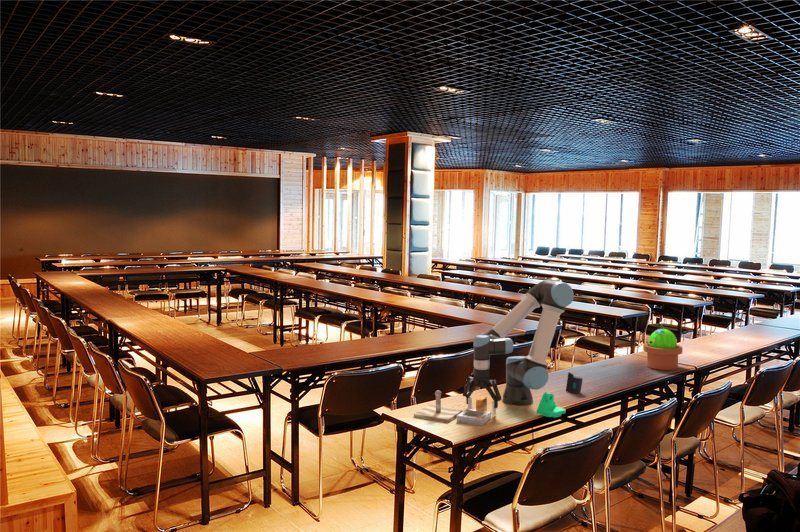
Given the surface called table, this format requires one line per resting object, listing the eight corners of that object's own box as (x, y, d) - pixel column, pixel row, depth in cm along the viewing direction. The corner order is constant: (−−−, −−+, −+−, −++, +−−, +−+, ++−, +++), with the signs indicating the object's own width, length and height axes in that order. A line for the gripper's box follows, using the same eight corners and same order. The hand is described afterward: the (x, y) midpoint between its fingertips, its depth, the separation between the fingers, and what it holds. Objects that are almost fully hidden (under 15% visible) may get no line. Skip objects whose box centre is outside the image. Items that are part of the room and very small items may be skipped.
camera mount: (549, 419, 271) (549, 397, 271) (536, 415, 278) (536, 394, 277) (566, 414, 278) (566, 393, 277) (554, 410, 284) (554, 390, 284)
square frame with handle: (481, 426, 263) (481, 408, 263) (456, 421, 269) (456, 404, 269) (495, 414, 279) (495, 398, 278) (472, 411, 285) (472, 394, 284)
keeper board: (429, 407, 291) (429, 384, 290) (462, 413, 282) (462, 388, 281) (413, 416, 277) (413, 392, 277) (448, 422, 268) (448, 397, 268)
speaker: (566, 393, 312) (568, 374, 312) (565, 391, 318) (567, 372, 318) (581, 395, 311) (583, 376, 311) (580, 392, 317) (582, 373, 316)
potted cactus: (669, 362, 380) (670, 324, 378) (688, 370, 358) (689, 330, 357) (637, 363, 378) (637, 325, 377) (654, 371, 357) (654, 331, 355)
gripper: (455, 366, 281) (455, 411, 283) (502, 372, 269) (503, 418, 271) (461, 363, 288) (462, 407, 289) (508, 369, 276) (508, 414, 277)
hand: (481, 412), depth 280 cm, fingers open, 12 cm apart
